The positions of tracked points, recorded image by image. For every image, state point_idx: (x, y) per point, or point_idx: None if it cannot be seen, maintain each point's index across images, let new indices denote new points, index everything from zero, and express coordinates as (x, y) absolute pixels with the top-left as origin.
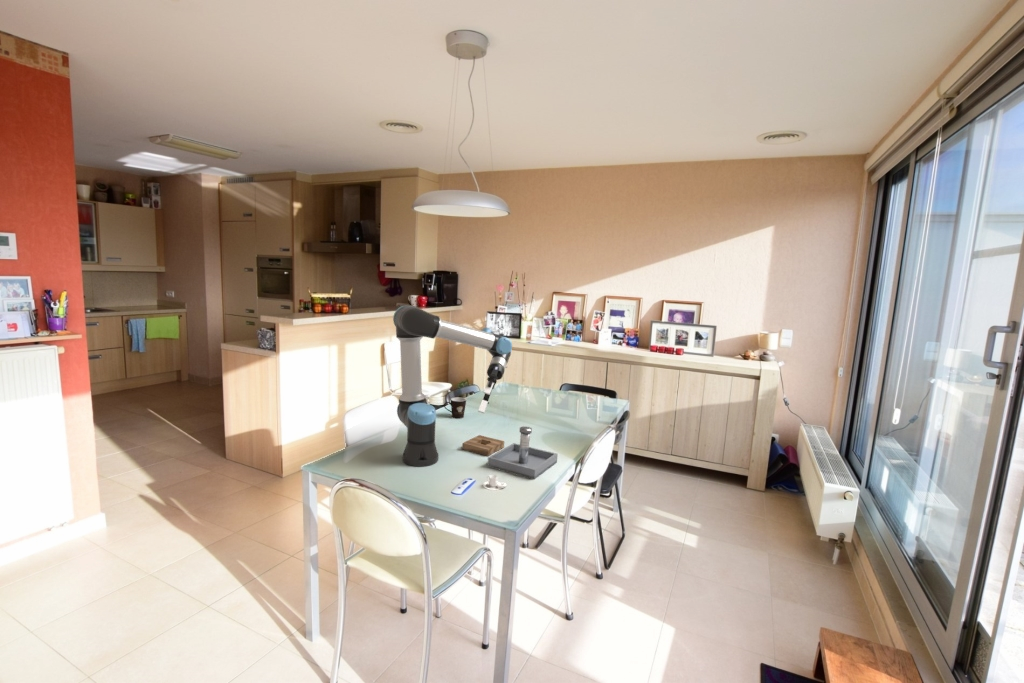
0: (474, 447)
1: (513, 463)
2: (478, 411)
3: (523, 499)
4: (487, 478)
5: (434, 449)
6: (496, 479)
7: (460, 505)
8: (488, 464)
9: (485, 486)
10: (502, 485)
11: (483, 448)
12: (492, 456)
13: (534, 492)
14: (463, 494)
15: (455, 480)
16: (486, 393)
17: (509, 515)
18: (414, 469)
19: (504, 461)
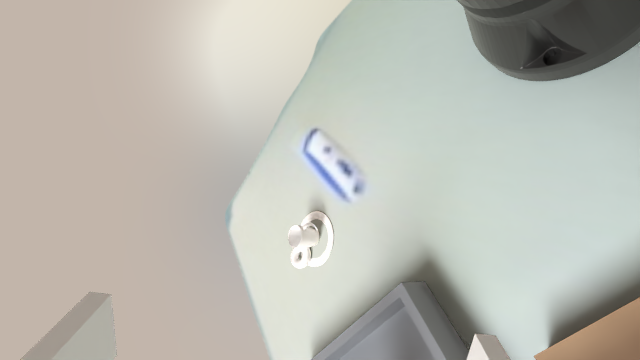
0: (633, 301)
1: (335, 346)
2: (492, 340)
3: (260, 276)
4: (310, 224)
5: (490, 40)
6: (292, 241)
7: (276, 144)
8: (417, 283)
9: (315, 216)
10: (291, 253)
11: (565, 338)
12: (406, 306)
13: (270, 320)
14: (302, 155)
15: (360, 143)
16: (106, 322)
17: (238, 222)
18: None
19: (355, 325)
